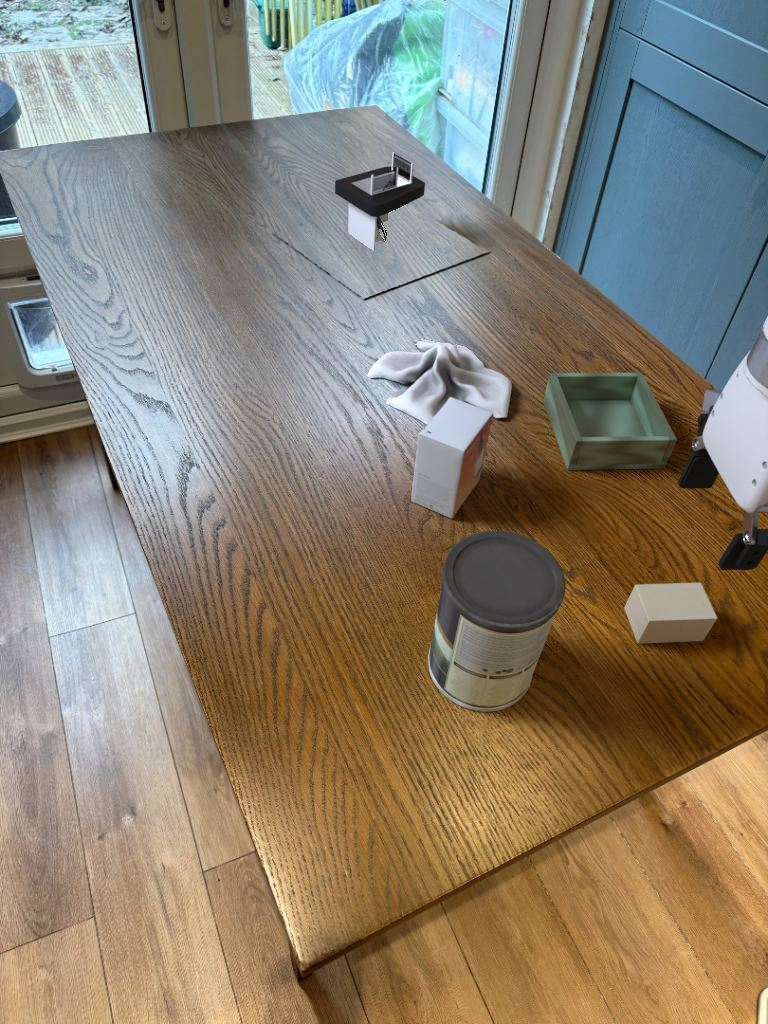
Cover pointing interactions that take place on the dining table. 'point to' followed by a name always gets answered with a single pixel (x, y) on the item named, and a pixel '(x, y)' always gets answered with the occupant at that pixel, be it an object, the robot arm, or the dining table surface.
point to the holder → (607, 421)
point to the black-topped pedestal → (377, 198)
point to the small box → (450, 456)
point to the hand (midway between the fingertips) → (713, 524)
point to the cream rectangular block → (669, 612)
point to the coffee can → (493, 618)
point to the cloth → (442, 380)
